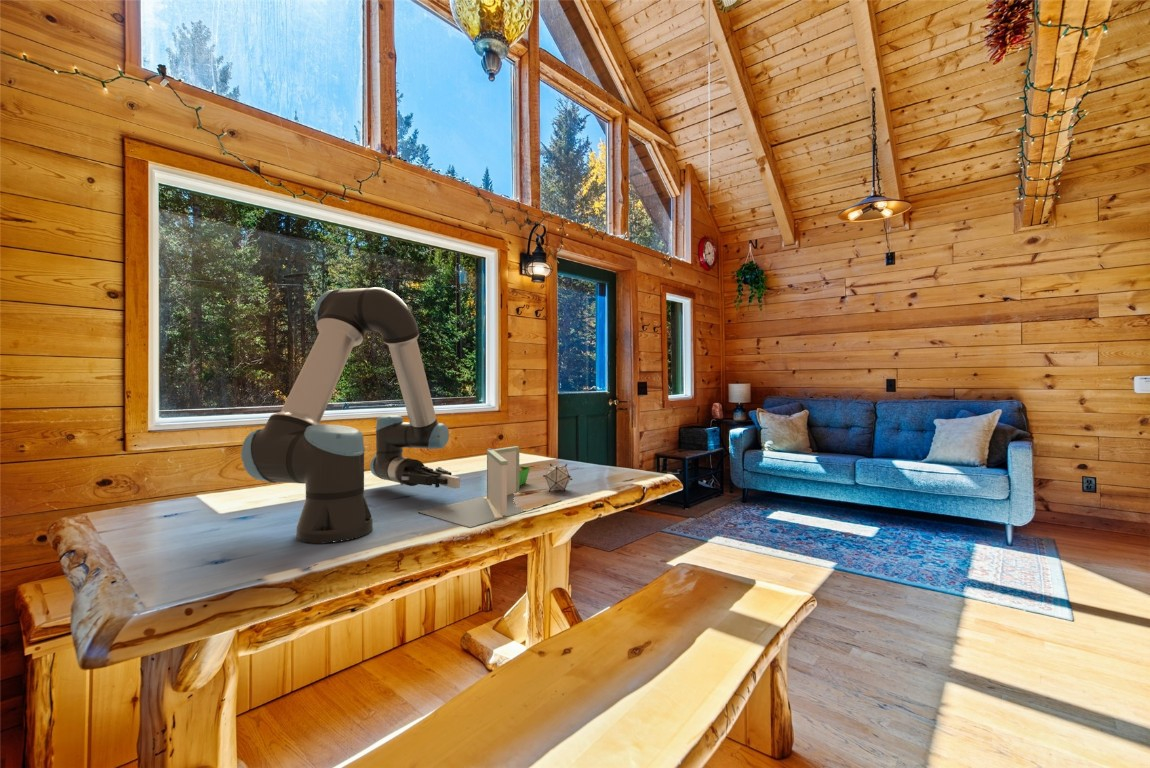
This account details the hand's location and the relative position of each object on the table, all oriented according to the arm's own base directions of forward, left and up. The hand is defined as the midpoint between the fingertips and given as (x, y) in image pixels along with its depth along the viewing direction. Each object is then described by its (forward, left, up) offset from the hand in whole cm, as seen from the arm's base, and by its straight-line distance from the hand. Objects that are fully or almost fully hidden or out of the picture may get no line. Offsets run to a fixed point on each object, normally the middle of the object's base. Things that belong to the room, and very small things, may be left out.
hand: (457, 482), depth 134 cm
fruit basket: (+28, +9, -7) cm, 30 cm away
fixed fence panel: (+18, +1, -7) cm, 19 cm away
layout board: (+7, -6, -7) cm, 11 cm away
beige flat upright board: (+7, -7, -6) cm, 12 cm away
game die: (+32, -7, -7) cm, 33 cm away
